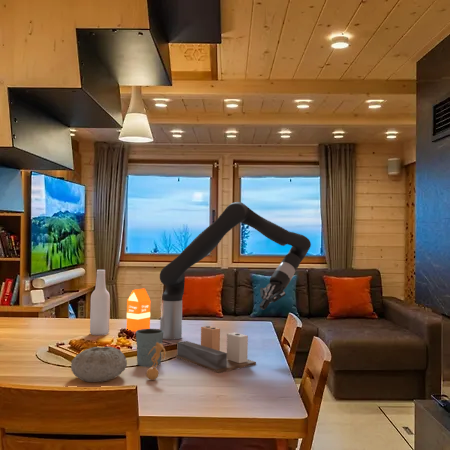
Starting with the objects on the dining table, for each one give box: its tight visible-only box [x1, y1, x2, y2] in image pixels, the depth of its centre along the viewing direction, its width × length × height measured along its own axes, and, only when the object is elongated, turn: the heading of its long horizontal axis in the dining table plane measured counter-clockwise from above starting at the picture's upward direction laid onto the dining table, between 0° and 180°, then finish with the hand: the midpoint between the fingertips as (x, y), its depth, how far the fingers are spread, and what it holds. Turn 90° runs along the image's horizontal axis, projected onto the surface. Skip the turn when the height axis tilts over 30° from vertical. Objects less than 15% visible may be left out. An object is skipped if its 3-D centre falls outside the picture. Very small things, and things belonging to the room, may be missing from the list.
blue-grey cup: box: [135, 328, 164, 368], centre depth 179 cm, size 10×10×12 cm
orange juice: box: [126, 288, 151, 333], centre depth 241 cm, size 8×9×20 cm
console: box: [175, 340, 257, 374], centre depth 184 cm, size 18×26×6 cm
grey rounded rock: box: [70, 346, 128, 383], centre depth 160 cm, size 18×18×10 cm
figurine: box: [145, 342, 166, 381], centre depth 160 cm, size 8×6×12 cm
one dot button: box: [226, 332, 249, 363], centre depth 181 cm, size 4×7×10 cm, turn 40°
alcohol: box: [89, 269, 111, 336], centre depth 229 cm, size 9×9×30 cm
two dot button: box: [200, 325, 221, 351], centre depth 193 cm, size 4×7×10 cm, turn 40°
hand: (261, 308), depth 193 cm, fingers closed
